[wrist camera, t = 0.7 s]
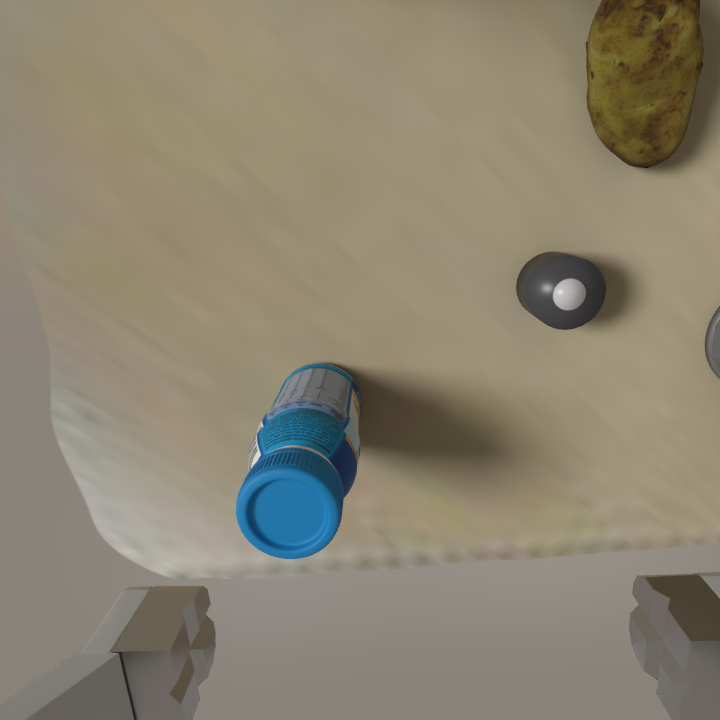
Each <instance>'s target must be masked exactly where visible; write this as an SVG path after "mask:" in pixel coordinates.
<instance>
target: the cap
mask: <svg viewBox="0 0 720 720" xmlns="http://www.w3.org/2000/svg"><path fill="white" fill-rule="evenodd" d="M516 291H517V296H518V299H519V301H520V303H521V305H522V306H523V307H524V308H525V309H526V310H527V311H528V312H530V313H531V314H532V315H534V316H535V317H536V318H538V319H539V320H541V321H542V322H543V323H545V324H546V325H548V326H550V327H553V328H556V329H562V330H567V329H573V328H577V327H580V326H582V325H584V324H586V323H587V322H589V321H590V320H591V319H592V318H593V317H594V316H595V315H596V314H597V313H598V311H599V310H600V308H601V306H602V304H603V302H604V298H605V293H606V286H605V281H604V278H603V275H602V273H601V272H600V270H599V269H598V268H597V267H596V266H595V265H594V264H593V263H591V262H589V261H587V260H585V259H582V258H578V257H574V256H571V255H567V254H563V253H560V252H546V253H542V254H540V255H537V256H535V257H534V258H532V259H531V260H530V261H528V262H527V263H526V264H525V266H524V267H523V268H522V270H521V272H520V274H519V276H518V279H517V285H516Z"/></svg>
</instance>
